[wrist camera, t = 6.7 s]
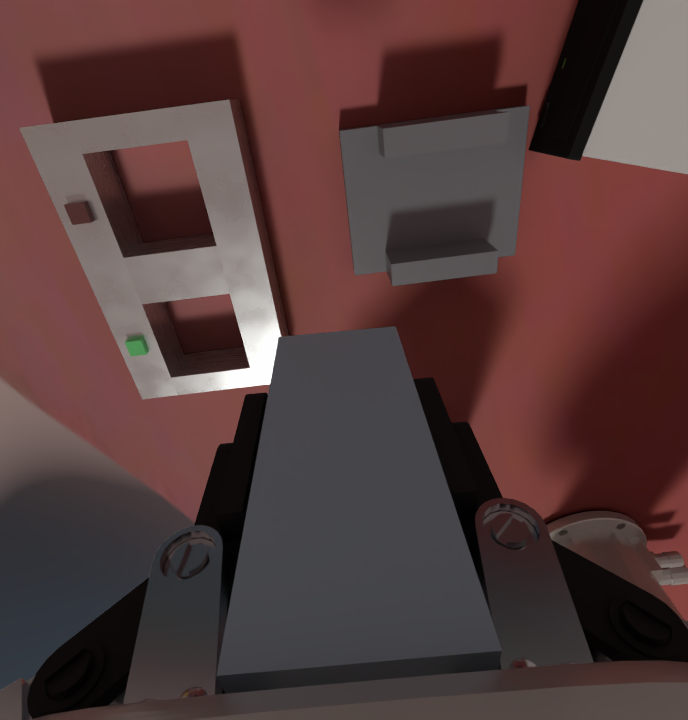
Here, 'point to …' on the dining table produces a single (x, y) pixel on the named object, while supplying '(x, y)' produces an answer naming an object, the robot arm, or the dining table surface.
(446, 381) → the dining table surface
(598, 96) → the disc drive
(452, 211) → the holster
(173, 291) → the port panel
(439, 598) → the plug
